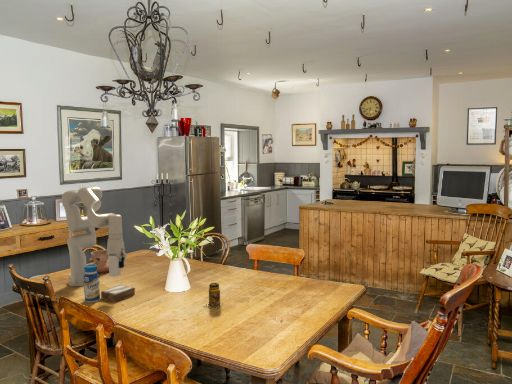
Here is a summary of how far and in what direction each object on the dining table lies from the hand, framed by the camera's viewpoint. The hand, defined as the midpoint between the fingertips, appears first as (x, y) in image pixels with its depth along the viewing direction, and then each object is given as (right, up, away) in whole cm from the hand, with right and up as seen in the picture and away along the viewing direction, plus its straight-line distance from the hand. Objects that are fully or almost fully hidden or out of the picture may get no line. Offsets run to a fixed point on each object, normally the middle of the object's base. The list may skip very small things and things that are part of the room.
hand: (117, 266), depth 246 cm
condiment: (+57, -19, -14) cm, 62 cm away
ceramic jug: (-28, -13, +54) cm, 62 cm away
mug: (0, -5, 0) cm, 5 cm away
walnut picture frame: (0, -18, +2) cm, 18 cm away
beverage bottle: (-13, -19, -4) cm, 23 cm away
